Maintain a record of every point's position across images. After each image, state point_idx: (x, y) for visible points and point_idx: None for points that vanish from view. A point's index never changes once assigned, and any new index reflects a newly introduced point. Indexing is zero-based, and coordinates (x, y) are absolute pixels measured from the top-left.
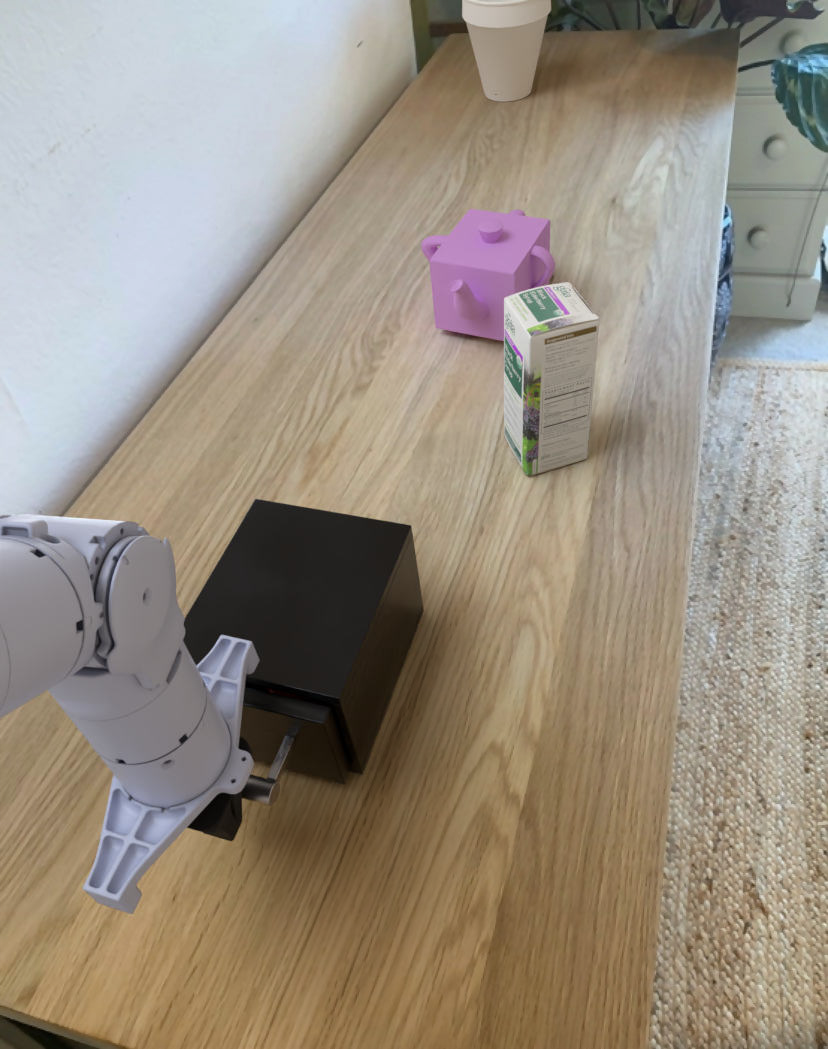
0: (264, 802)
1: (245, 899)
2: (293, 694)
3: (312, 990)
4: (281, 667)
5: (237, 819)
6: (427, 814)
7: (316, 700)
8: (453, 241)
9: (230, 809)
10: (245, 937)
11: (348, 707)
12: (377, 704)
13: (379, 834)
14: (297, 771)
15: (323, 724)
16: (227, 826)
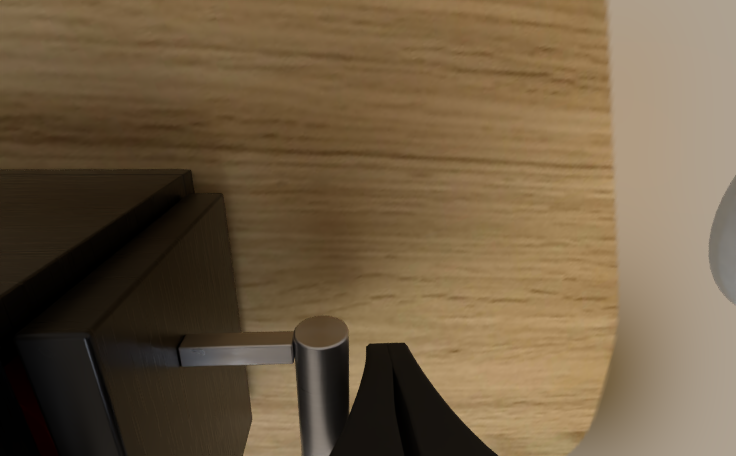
0: (348, 344)
1: (438, 268)
2: None
3: (544, 124)
4: None
5: (389, 369)
6: (213, 16)
7: None
8: None
9: (416, 429)
10: (487, 247)
11: (3, 269)
12: (24, 189)
13: (283, 101)
14: (233, 278)
15: (88, 333)
16: (431, 397)
